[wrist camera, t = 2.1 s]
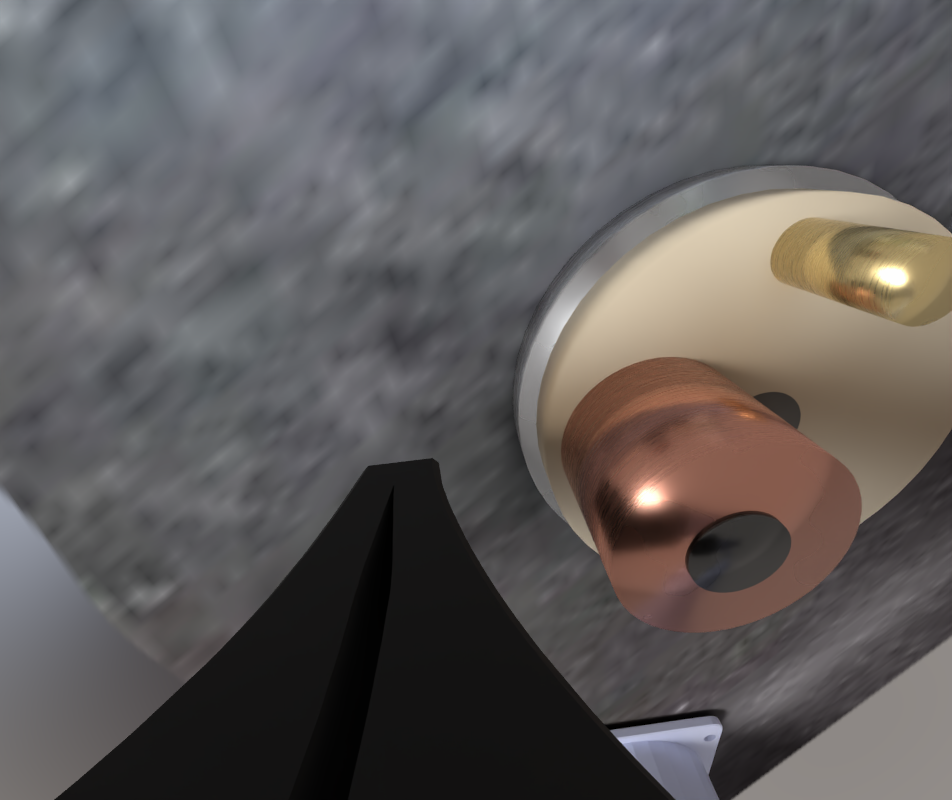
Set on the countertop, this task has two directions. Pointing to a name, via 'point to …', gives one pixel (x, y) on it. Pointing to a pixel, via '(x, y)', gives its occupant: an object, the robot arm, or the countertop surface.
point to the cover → (703, 497)
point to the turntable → (781, 327)
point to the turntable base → (617, 243)
